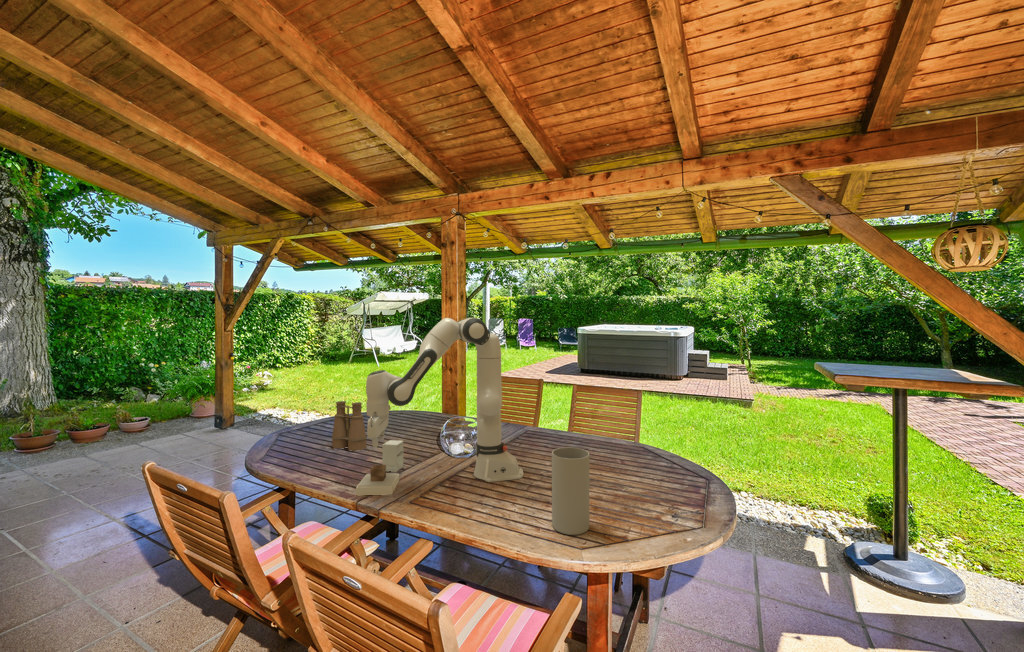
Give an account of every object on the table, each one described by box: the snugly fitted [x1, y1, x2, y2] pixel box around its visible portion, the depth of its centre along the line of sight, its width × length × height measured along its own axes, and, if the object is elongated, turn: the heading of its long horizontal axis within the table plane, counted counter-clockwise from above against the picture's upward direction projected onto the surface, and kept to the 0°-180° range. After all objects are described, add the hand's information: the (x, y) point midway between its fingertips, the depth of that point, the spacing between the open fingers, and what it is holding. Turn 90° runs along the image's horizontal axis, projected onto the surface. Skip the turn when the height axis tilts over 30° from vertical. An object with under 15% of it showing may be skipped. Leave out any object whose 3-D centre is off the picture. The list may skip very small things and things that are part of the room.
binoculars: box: [330, 400, 368, 451], centre depth 229 cm, size 21×10×25 cm, turn 70°
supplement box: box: [381, 439, 404, 473], centre depth 197 cm, size 7×7×13 cm
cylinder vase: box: [551, 446, 590, 536], centre depth 142 cm, size 12×12×25 cm
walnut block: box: [370, 464, 387, 482], centre depth 174 cm, size 5×5×5 cm
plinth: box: [355, 472, 400, 496], centre depth 174 cm, size 14×14×4 cm
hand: (378, 443), depth 174 cm, fingers open, 8 cm apart
